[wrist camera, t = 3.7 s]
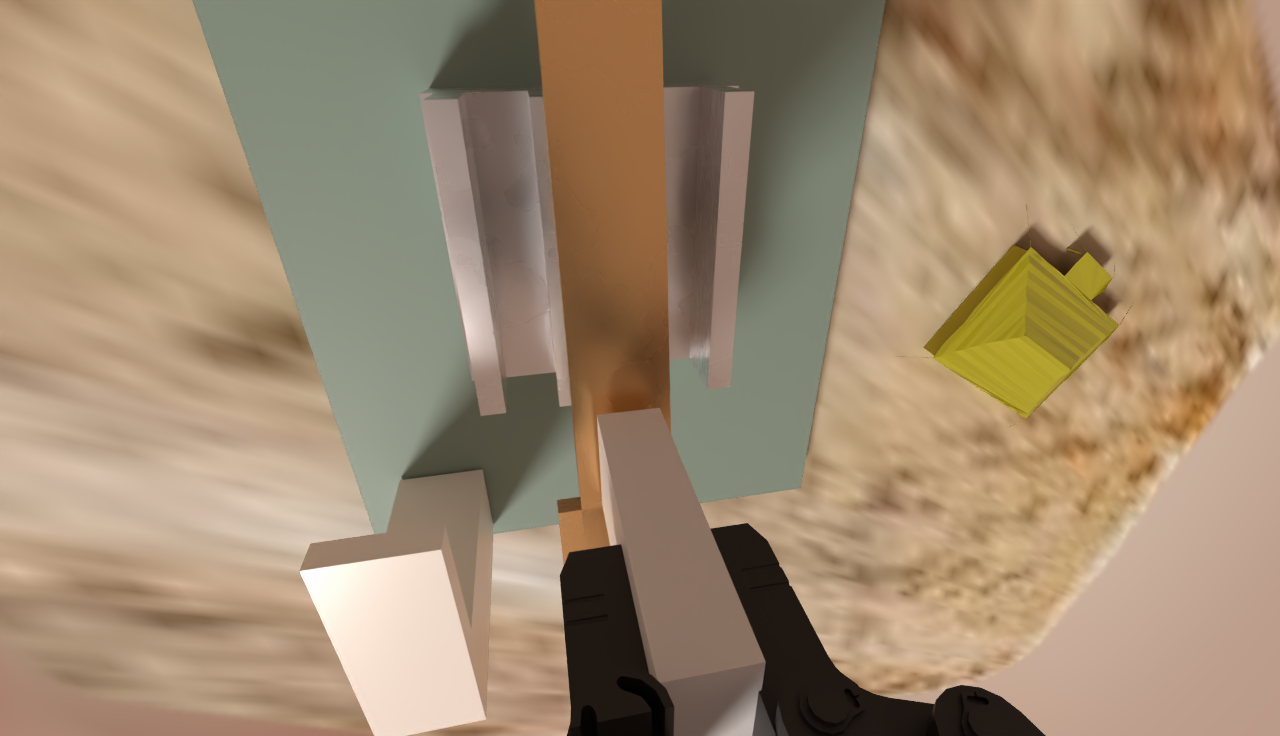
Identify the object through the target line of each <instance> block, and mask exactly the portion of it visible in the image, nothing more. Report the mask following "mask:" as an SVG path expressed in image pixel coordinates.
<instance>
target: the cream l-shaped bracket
mask: <svg viewBox="0 0 1280 736" xmlns="http://www.w3.org/2000/svg"><path fill="white" fill-rule="evenodd" d="M493 528H494V526H493V521H492V516H491V511H490V506H489V500H488V495H487V490H486V485H485V480H484V474H483V469H482V470H474V471H467V472H459V473H451V474H444V475H436V476H428V477H421V478H413V479H405V480H400V481H399V485H398V489H397V493H396V497H395V500H394V504H393V508H392V512H391V516H390V520H389V524H388V527H387V531H386V533H381V534H374V535H367V536H360V537H353V538H346V539H339V540H333V541H326V542H319V543H312V544H310V546H309V549H308V551H307V554H306V556H305V559H304V561H303V564H302V566H301V569H300V573H301V576H302V578H303V580H304V582H305V584H306V587H307V589H308V591H309V593H310V595H311V598H312V600H313V602H314V604H315V606H316V609H317V611H318V613H319V615H320V617H321V620H322V622H323V624H324V626H325V628H326V631H327V633H328V635H329V637H330V639H331V642H332V644H333V646H334V648H335V650H336V653H337V655H338V657H339V659H340V661H341V664H342V666H343V668H344V670H345V672H346V675H347V677H348V679H349V681H350V683H351V686H352V688H353V690H354V692H355V694H356V697H357V699H358V701H359V703H360V705H361V708H362V710H363V712H364V714H365V716H366V719H367V721H368V723H369V725H370V727H371V730H372V732H373V734H374V736H407V735H412V734H416V733H421V732H426V731H431V730H436V729H441V728H446V727H451V726H456V725H461V724H466V723H471V722H476V721H481V720H486V708H487V682H488V656H489V631H490V605H491V579H492V554H493Z"/></svg>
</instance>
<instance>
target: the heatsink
mask: <svg viewBox="0 0 1280 736" xmlns="http://www.w3.org/2000/svg"><path fill="white" fill-rule="evenodd" d="M663 87H664V133H665V179H666V225H667V271H668V317H669V360H676V359H686V358H690V360H691V361H692V363H693V365H694V367H695V368H696V370H697V372H698V374H699V375H700V377H701V379H702V381H703V382H704V384H705V386H706V388H707V390H710V389H718V388H727V387H730V381H731V369H732V357H733V345H734V333H735V321H736V309H737V296H738V284H739V272H740V260H741V248H742V236H743V224H744V212H745V199H746V187H747V175H748V163H749V151H750V139H751V127H752V115H753V103H754V91H750V90H744V89H739V86H737V85H732V84H726V83H721V82H676V83H663ZM419 97H420V103H421V108H422V113H423V119H424V124H425V130H426V135H427V140H428V146H429V151H430V156H431V162H432V167H433V173H434V178H435V183H436V189H437V194H438V200H439V205H440V210H441V216H442V221H443V226H444V232H445V237H446V243H447V248H448V253H449V259H450V264H451V270H452V275H453V280H454V286H455V291H456V297H457V302H458V307H459V313H460V318H461V323H462V329H463V334H464V340H465V345H466V350H467V356H468V361H469V367H470V372H471V377H472V381H474V382H475V387H476V393H477V398H478V404H479V409H480V415H481V416H485V415H493V414H502V413H506V398H507V377H515V376H524V375H534V374H543V373H553V372H555V375H556V382H557V390H558V397H559V405H560V407H563V406H571V399H570V388H569V377H568V366H567V356H566V345H565V334H564V323H563V312H562V301H561V291H560V280H559V269H558V258H557V247H556V236H555V226H554V215H553V204H552V193H551V182H550V171H549V161H548V150H547V139H546V128H545V117H544V106H543V96H542V86H501V87H457V88H429V89H427V90H425V91H423V92H421V93H419Z"/></svg>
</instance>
